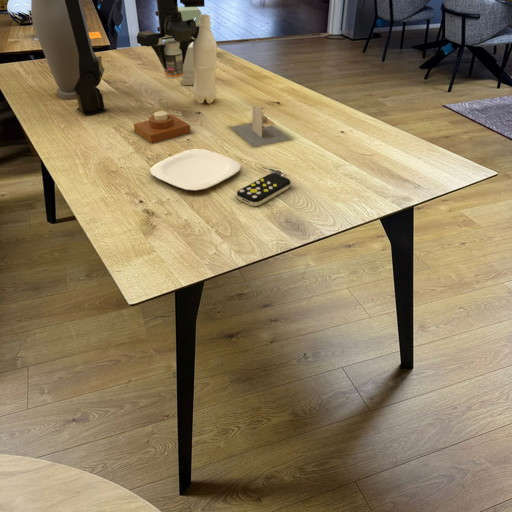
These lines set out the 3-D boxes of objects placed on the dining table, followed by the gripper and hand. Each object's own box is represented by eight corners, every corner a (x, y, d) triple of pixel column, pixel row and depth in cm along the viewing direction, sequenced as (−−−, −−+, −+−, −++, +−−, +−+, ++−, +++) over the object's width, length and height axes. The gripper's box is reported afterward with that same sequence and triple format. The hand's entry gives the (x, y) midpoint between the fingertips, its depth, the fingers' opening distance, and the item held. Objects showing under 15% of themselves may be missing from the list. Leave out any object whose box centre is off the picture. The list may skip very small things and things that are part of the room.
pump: (158, 123, 128) (157, 116, 127) (152, 119, 131) (151, 112, 130) (170, 120, 130) (169, 113, 129) (163, 116, 132) (163, 110, 131)
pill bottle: (161, 77, 142) (157, 42, 136) (172, 72, 147) (168, 38, 141) (177, 80, 140) (173, 44, 134) (187, 75, 144) (184, 40, 139)
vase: (94, 97, 155) (69, -27, 134) (52, 102, 151) (19, -25, 130) (89, 85, 165) (65, -32, 144) (50, 90, 161) (19, -30, 140)
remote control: (293, 187, 107) (293, 179, 106) (255, 208, 100) (255, 200, 99) (272, 178, 111) (272, 170, 109) (234, 198, 103) (233, 190, 102)
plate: (196, 150, 123) (195, 144, 122) (250, 171, 114) (250, 164, 112) (141, 175, 111) (140, 169, 110) (196, 200, 102) (195, 194, 101)
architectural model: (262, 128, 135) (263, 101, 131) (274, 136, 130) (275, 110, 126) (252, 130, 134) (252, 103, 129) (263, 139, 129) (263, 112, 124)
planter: (189, 63, 204) (213, 18, 196) (193, 68, 198) (218, 21, 190) (153, 42, 195) (177, -7, 187) (156, 47, 189) (180, -3, 181)
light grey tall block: (206, 79, 171) (204, 41, 164) (202, 85, 165) (200, 47, 158) (186, 78, 172) (183, 41, 164) (182, 85, 166) (178, 46, 158)
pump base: (151, 143, 126) (149, 128, 124) (134, 131, 133) (132, 117, 130) (190, 132, 132) (189, 118, 130) (172, 121, 139) (171, 108, 136)
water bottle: (212, 106, 149) (213, 20, 133) (190, 103, 150) (188, 17, 134) (218, 98, 155) (220, 14, 139) (197, 94, 156) (196, 11, 139)
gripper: (152, 16, 123) (159, 78, 132) (211, 8, 132) (214, 66, 141) (131, 10, 129) (140, 69, 139) (190, 2, 139) (194, 58, 148)
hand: (173, 66), depth 142 cm, fingers closed on pill bottle, 5 cm apart
